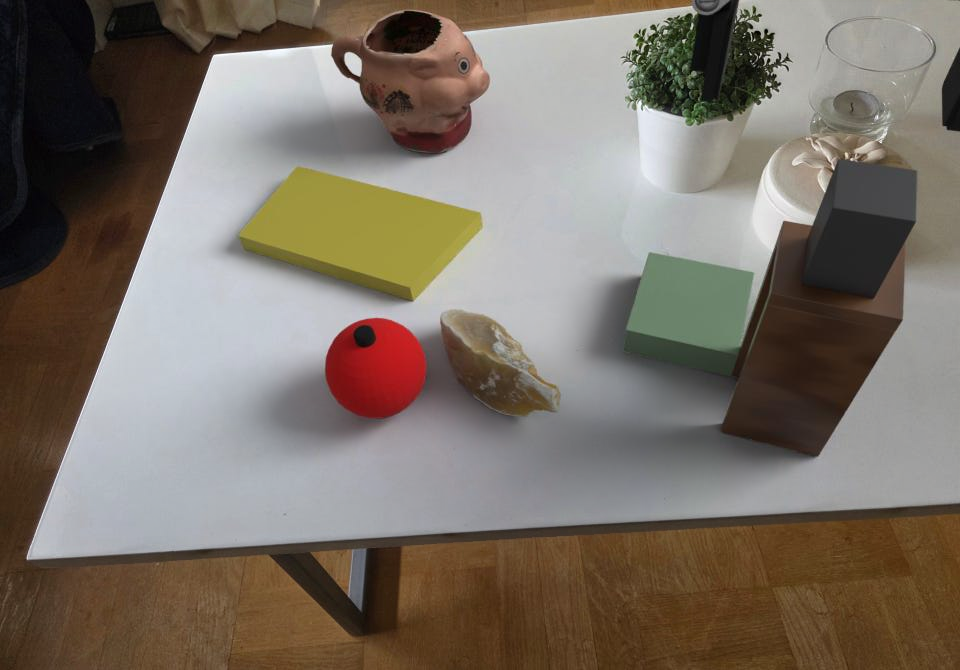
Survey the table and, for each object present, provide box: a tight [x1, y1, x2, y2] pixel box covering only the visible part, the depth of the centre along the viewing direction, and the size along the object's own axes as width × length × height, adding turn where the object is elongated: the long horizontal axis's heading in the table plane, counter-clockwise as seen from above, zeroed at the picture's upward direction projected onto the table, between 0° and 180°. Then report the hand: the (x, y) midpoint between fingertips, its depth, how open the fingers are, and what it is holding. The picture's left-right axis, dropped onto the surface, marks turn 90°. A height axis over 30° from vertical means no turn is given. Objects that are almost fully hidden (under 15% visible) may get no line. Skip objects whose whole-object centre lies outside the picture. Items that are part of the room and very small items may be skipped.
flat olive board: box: [237, 165, 484, 302], centre depth 81 cm, size 12×2×24 cm
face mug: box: [330, 9, 491, 154], centre depth 86 cm, size 20×12×14 cm, turn 74°
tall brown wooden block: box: [720, 220, 907, 458], centre depth 57 cm, size 8×7×19 cm
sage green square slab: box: [622, 251, 755, 378], centre depth 69 cm, size 10×10×4 cm
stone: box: [439, 308, 562, 418], centre depth 66 cm, size 7×6×15 cm
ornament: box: [324, 317, 427, 419], centre depth 65 cm, size 9×9×10 cm
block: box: [801, 158, 919, 298], centre depth 46 cm, size 4×4×7 cm
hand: (827, 96), depth 32 cm, fingers open, 9 cm apart
